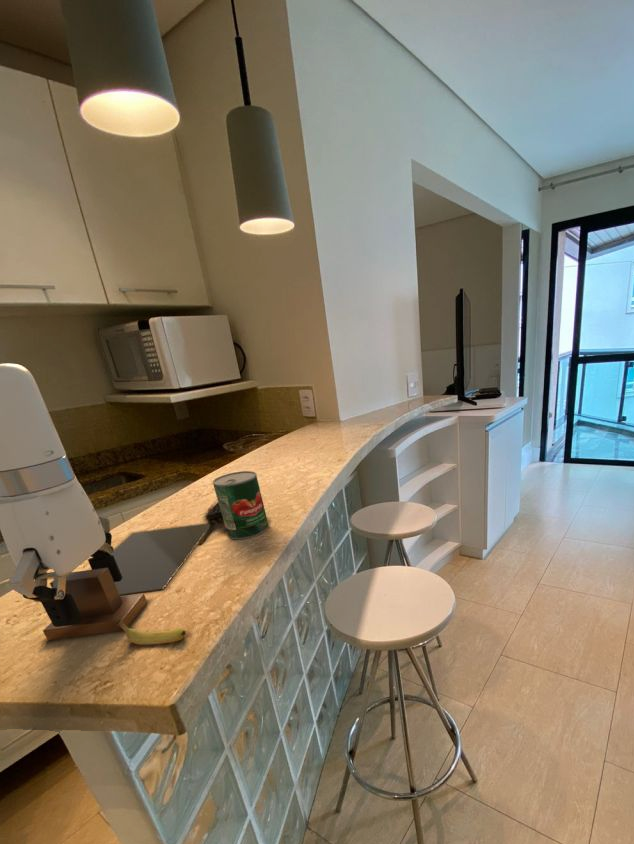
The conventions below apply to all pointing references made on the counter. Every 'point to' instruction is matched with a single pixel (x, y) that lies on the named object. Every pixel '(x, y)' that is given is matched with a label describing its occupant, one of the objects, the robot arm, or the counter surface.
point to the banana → (151, 635)
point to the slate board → (155, 557)
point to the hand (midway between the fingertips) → (91, 601)
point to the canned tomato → (241, 504)
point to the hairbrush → (214, 512)
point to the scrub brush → (96, 605)
